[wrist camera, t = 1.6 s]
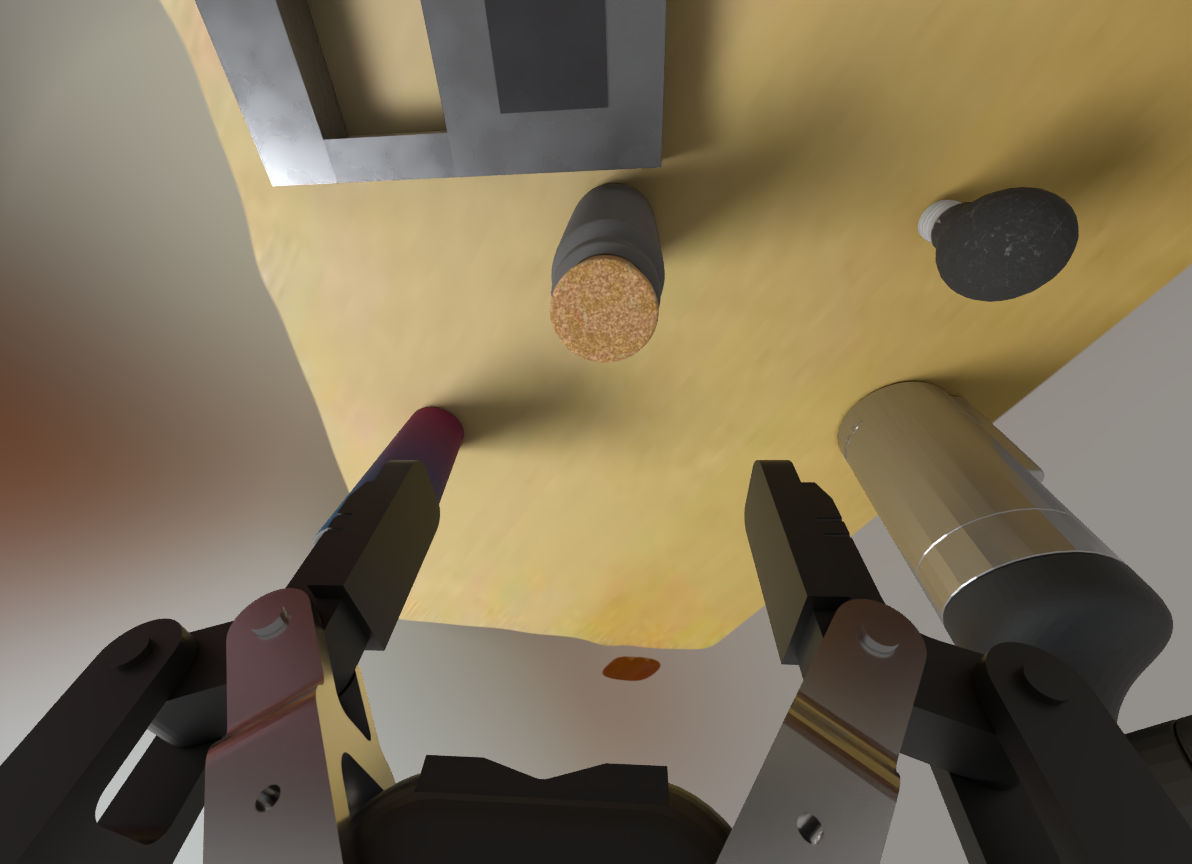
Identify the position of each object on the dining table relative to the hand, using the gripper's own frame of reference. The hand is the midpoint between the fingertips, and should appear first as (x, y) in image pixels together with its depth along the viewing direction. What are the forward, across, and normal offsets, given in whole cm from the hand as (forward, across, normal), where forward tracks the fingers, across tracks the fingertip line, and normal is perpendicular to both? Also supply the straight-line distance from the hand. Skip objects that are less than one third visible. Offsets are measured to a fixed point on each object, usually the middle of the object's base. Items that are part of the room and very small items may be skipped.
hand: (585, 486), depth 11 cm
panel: (+26, +9, -10) cm, 29 cm away
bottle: (+26, 0, 0) cm, 26 cm away
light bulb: (+26, -21, 0) cm, 33 cm away
